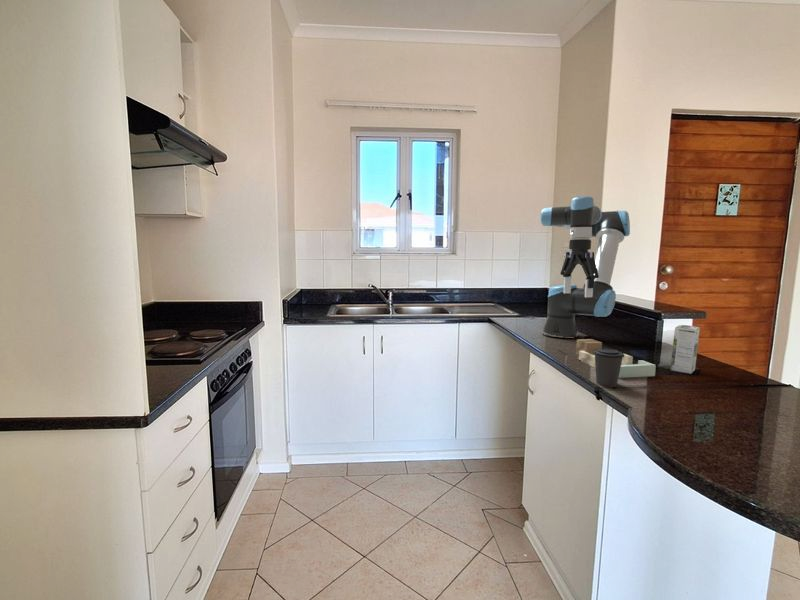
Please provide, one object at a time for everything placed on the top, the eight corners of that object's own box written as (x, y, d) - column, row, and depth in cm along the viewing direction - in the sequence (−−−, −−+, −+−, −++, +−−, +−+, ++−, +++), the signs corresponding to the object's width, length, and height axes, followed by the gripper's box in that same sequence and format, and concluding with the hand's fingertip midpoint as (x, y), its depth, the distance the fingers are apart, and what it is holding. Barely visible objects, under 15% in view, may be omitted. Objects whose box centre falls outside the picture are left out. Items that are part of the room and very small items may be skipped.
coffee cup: (629, 387, 112) (631, 353, 111) (603, 389, 111) (605, 354, 110) (609, 378, 120) (611, 346, 119) (585, 379, 119) (587, 347, 118)
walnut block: (575, 355, 147) (576, 339, 147) (590, 354, 148) (591, 339, 148) (585, 359, 142) (586, 343, 141) (601, 359, 142) (602, 342, 142)
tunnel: (578, 360, 140) (578, 350, 140) (611, 359, 142) (612, 349, 142) (596, 368, 130) (597, 358, 130) (632, 367, 132) (632, 356, 132)
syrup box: (674, 367, 132) (678, 324, 131) (696, 370, 128) (700, 326, 126) (670, 370, 128) (673, 326, 127) (692, 374, 124) (696, 329, 122)
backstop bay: (604, 372, 126) (605, 361, 126) (641, 370, 128) (642, 360, 128) (616, 377, 121) (617, 366, 120) (654, 376, 123) (655, 365, 122)
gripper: (553, 239, 161) (550, 291, 163) (592, 238, 136) (589, 299, 139) (569, 239, 162) (567, 291, 165) (612, 238, 138) (608, 298, 140)
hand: (577, 295), depth 152 cm, fingers open, 13 cm apart
